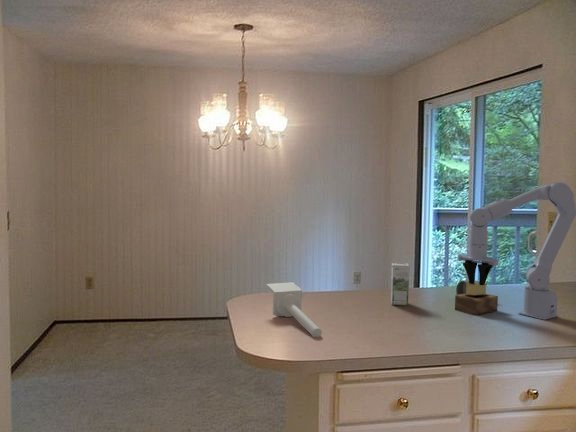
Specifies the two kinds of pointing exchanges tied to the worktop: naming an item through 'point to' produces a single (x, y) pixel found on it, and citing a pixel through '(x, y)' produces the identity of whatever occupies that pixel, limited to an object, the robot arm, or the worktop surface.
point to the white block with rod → (291, 305)
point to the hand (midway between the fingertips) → (476, 283)
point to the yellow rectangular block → (475, 289)
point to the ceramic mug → (462, 287)
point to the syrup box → (399, 284)
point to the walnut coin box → (476, 303)
